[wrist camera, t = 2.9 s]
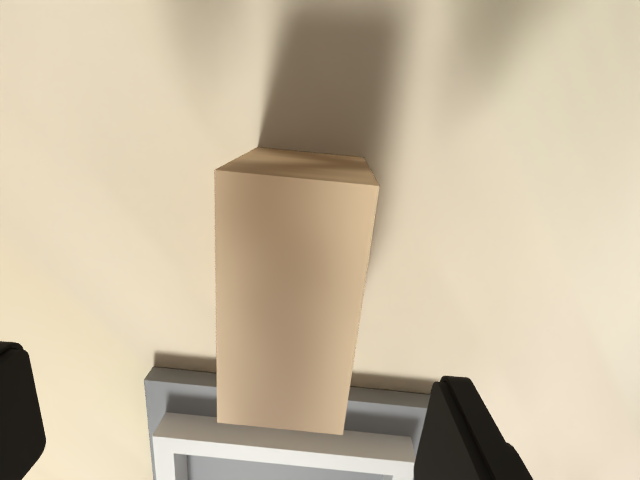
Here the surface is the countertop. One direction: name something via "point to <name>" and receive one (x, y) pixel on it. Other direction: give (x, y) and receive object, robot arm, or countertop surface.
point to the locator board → (277, 436)
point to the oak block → (290, 285)
